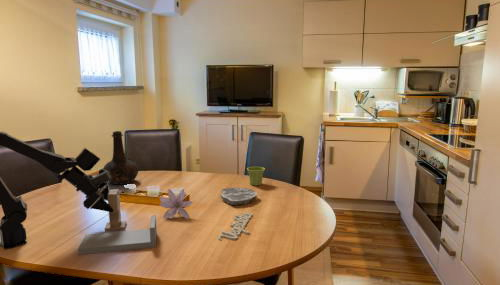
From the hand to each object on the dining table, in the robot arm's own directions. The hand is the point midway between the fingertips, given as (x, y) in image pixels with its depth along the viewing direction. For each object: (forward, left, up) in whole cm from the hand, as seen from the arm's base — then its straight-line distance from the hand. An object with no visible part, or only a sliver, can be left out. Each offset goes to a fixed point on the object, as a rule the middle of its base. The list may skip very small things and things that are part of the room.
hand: (114, 206), depth 133 cm
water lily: (+22, -7, -8) cm, 25 cm away
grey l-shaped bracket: (-6, -13, -8) cm, 17 cm away
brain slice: (+55, -12, -9) cm, 57 cm away
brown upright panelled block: (0, 0, -8) cm, 8 cm away
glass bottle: (+32, +54, -8) cm, 63 cm away
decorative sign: (+32, -34, -9) cm, 48 cm away
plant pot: (+78, -3, -8) cm, 78 cm away
